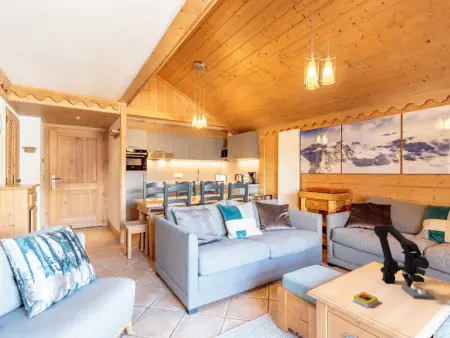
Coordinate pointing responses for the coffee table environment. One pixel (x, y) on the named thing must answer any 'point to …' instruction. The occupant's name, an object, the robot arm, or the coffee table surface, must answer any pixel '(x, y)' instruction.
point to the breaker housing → (416, 294)
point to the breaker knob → (418, 288)
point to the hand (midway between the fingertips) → (409, 286)
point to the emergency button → (365, 300)
